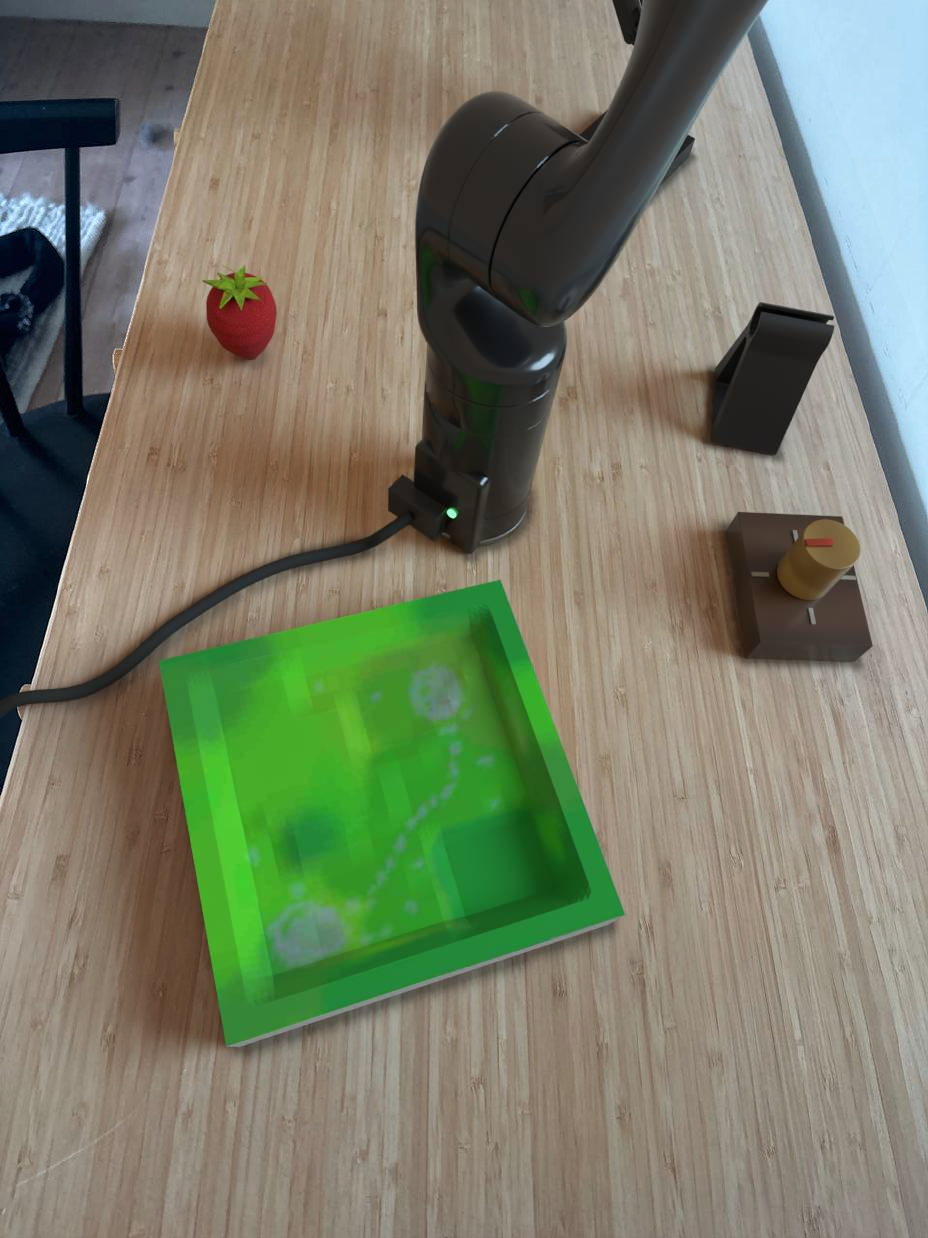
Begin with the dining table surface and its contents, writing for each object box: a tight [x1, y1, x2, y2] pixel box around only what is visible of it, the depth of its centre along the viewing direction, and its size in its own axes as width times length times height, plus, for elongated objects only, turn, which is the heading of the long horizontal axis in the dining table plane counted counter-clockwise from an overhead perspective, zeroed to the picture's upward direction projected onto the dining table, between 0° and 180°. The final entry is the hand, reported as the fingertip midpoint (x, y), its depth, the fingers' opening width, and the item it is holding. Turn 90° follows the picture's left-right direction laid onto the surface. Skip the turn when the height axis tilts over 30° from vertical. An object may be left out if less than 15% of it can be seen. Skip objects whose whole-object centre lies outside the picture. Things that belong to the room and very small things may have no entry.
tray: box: [158, 579, 626, 1048], centre depth 59 cm, size 25×25×5 cm
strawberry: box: [202, 263, 278, 361], centre depth 74 cm, size 6×8×10 cm
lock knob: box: [777, 519, 861, 600], centre depth 67 cm, size 4×4×5 cm
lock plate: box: [725, 511, 874, 663], centre depth 71 cm, size 12×9×3 cm
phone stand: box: [710, 301, 835, 456], centre depth 75 cm, size 9×6×12 cm, turn 170°
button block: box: [578, 110, 696, 189], centre depth 94 cm, size 10×10×4 cm
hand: (644, 93), depth 89 cm, fingers closed
